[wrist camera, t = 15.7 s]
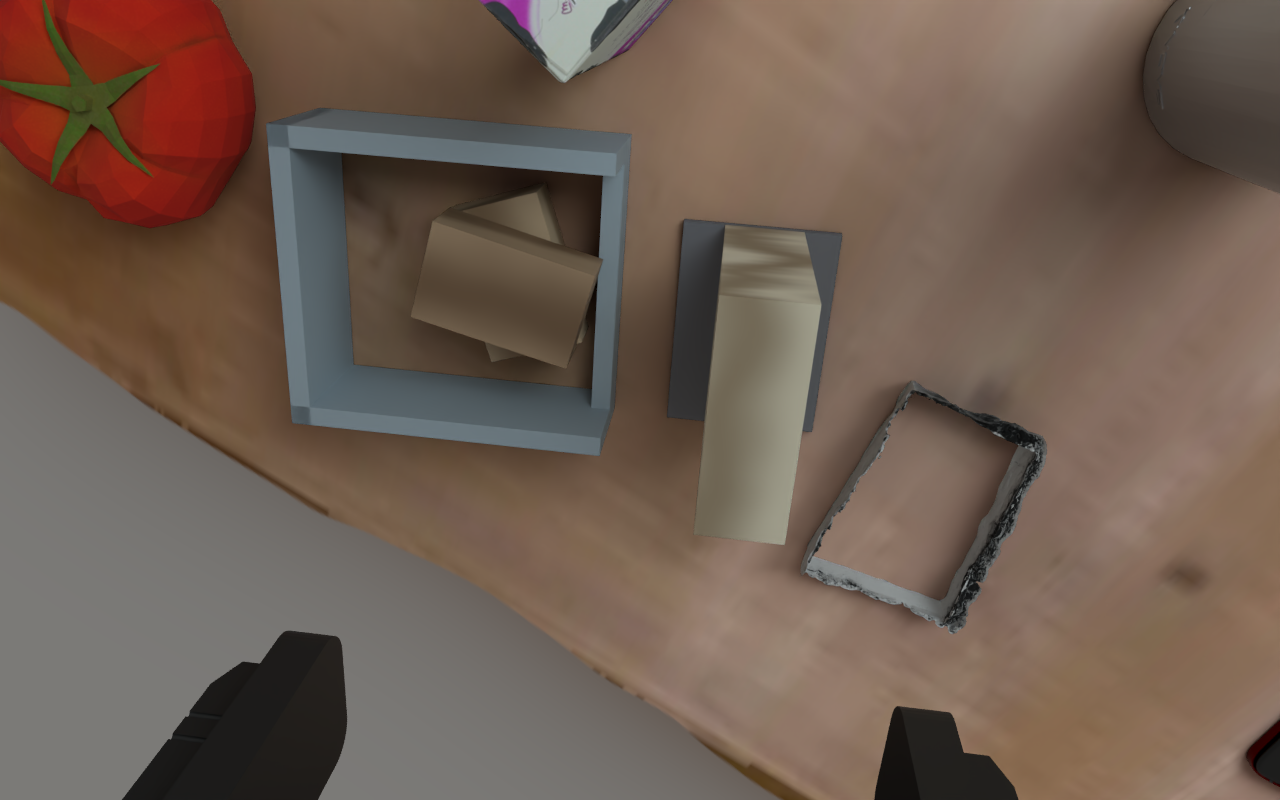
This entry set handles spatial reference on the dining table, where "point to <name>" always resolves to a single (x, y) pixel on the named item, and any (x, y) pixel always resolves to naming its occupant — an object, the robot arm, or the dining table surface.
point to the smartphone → (1267, 755)
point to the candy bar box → (575, 29)
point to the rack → (322, 299)
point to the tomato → (125, 102)
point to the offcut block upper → (505, 287)
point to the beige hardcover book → (757, 384)
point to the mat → (700, 312)
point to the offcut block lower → (520, 229)
